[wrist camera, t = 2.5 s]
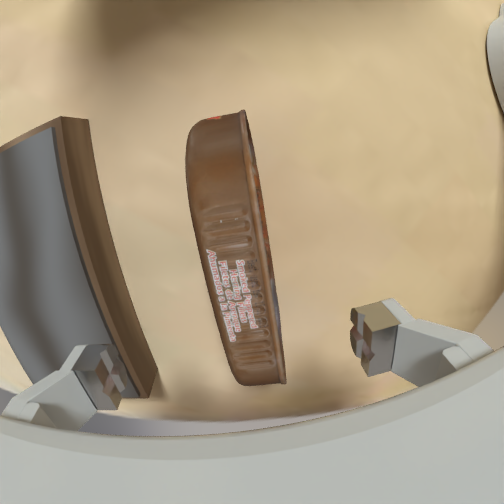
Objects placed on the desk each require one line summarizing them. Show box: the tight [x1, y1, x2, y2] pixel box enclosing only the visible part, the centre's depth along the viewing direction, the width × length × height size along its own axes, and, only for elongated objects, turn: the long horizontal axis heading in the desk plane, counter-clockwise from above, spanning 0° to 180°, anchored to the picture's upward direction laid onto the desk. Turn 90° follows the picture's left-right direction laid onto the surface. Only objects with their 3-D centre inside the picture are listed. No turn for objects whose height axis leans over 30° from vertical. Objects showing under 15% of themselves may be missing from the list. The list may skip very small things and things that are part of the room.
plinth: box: [0, 116, 158, 398], centre depth 18 cm, size 12×20×4 cm, turn 8°
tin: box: [185, 110, 286, 386], centre depth 16 cm, size 15×3×8 cm, turn 9°
